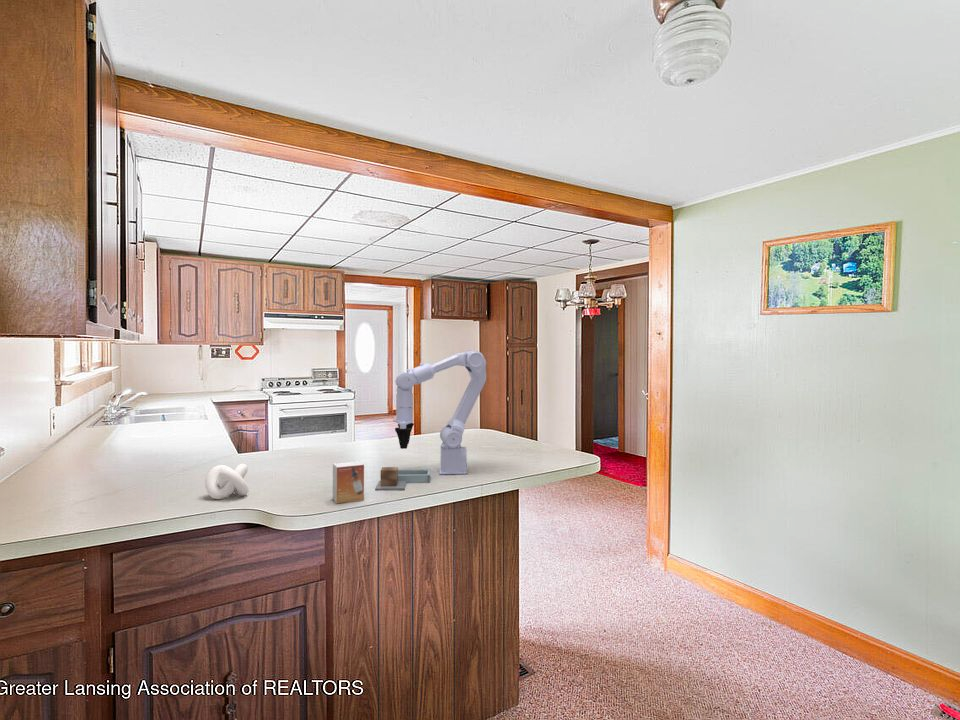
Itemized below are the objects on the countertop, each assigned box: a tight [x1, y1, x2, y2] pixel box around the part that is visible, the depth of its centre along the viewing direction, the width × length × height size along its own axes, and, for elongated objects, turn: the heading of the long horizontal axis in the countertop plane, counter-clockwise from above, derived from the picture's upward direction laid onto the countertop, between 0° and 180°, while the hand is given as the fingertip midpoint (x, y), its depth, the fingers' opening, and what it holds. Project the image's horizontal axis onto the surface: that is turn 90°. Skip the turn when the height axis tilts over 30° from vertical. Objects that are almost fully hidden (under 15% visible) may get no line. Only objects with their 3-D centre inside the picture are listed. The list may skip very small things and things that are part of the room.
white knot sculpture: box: [204, 463, 250, 500], centre depth 146 cm, size 11×12×9 cm
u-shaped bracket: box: [398, 469, 431, 484], centre depth 164 cm, size 15×7×2 cm, turn 94°
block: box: [380, 466, 399, 486], centre depth 157 cm, size 5×4×5 cm
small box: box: [332, 460, 365, 504], centre depth 143 cm, size 8×6×10 cm
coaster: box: [374, 480, 408, 492], centre depth 157 cm, size 9×9×1 cm
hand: (404, 446), depth 171 cm, fingers open, 7 cm apart
